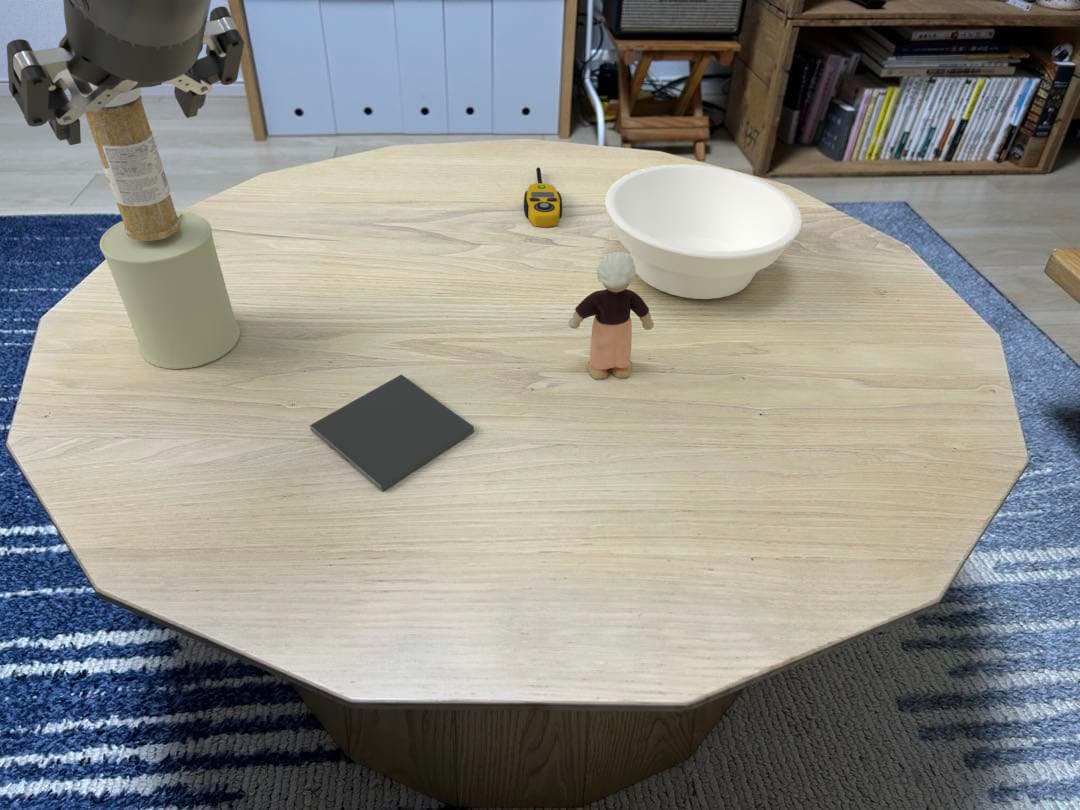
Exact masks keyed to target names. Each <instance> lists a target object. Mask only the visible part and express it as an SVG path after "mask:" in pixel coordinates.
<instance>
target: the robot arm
mask: <svg viewBox="0 0 1080 810" xmlns="http://www.w3.org/2000/svg"><path fill="white" fill-rule="evenodd" d="M62 1H63V16H64V24H65V30H66V31H65V34H64V36H63V37H62V38H61V39H60V41H59V43H58V47H54V48H46V49H38V50H33V48H32V46H31V45H30V42H29V41H28V40H26V39H22V38H21V39H19V38H18V39H14V40H11V41H9V42H8V43H7V45H6V56H7V57H6V58H7V75H8V76H7V79H8V90H9V92H10V94H11V96H12V97H13V98H14V99H15V101H16V103H17V105H18V108H19V109H20V111H21V112H22V115H23V118H24V120H25V121H26V123H27V125H28V126H29V127H32V128H33V127H36V128H37V127H40V126H43V125H45V124H47V122H48V124H49V126H50V128H51V130H52V131H53V133H54V135H55V137H56V139H57V140H59V141H67V143H68V145H69V146H74V145H78V144H81V143H82V139H81V138H82V136H81V120H80V118H81V117H82V116H83V115H85V112H86V111H88V110H91V111H99V110H101V109H102V108H103V107H104V106H106V105H107V104H108V103H109V102H110V101H112V100H113V99H114V98H115V97H116V96H118V95H119V94H120V93H127V92H128V91H131V90H134V89H137V88H140V89H141V88H152V87H156V86H162V85H163V83H164V84H166V85H168V84H170V85H172V86H174V90H173V91H174V97H175V99H176V101H177V103H178V105H179V107H180V109H181V111H182V112H183V113H182V114H183V115H184V116H185V118H187V119H189V118H193V117H197V116H198V112H199V110H200V109H202V108H203V107H204V105H205V102H206V98H207V94H209V93H210V92H212V91H213V87H214V86H213V84H215V83H218V82H220V83H221V85H223V86H230V85H232V84H235V83H236V82H237V80H238V76H239V72H240V66H241V62H242V56H243V52H244V45H245V41H244V39H243V37H242V34H241V33H240V31H239V29H238V27H237V25H236V24H235V21H234V19H233V17H232V16H231V13H230V12H229V10H228V8H227V7H226V6H217V7H214V8H213V9H212V10H211V11H210V7H211V3H212V0H62ZM209 12H210V13H209ZM208 17H209V20H208ZM204 45H205V46H206V47H205V54H206V56H204V57H200V54H201V53H202V51H203V48H204ZM199 57H200V58H199ZM89 83H91V84H93V85H95V86H97V88H95V89H94V90H93V89H92V88H91V86H90V84H89ZM66 90H68V92H69V93H70V95H71V97H70V98H71V99H69V98H68V95H67V93H66Z"/></svg>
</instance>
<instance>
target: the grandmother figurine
mask: <svg viewBox="0 0 1080 810" xmlns="http://www.w3.org/2000/svg"><path fill="white" fill-rule="evenodd" d="M596 268H597V269H596V274H597V281H598V282H600V283H602V285H603V287H604V288H605V289H600V290H596V291H594V292H592V293H590V294H589V295H587V296H586V297H585V298H584V299H582V300H581V301H580V303H578V305H577V306H576V307H575V309H574V310H575V311H574V313H573V314H572V317H570V319H568V326H569V328H571V329H574V330H577V329H579V327H580V326H581V323H582V322H583V321H584V320H585V319H588V318H590V317H593V316H594V318H593V320H592V321H593V322H592V326H591V327H592V328H591V337H590V344H589V345H590V346H589V361H588V362H587V364H586V367H585V368H586V370H587V372H588V373H589V375H590V376H591V378H593V379H594V380H598V381H599V380H606V379H607V378H608V376H609V373H608V369H612V374H613V376H614V377H616V378H618V379H627V378H629V377H630V375H631V373H632V370H633V367H634V365H633V362H632V361H631V354H632V339H633V337H632V336H633V329H632V325H633V324H632V318H631V311H632V312H633V313H634V314H635V315H636V316H637V317H638V319H639V321H640V322H641V326H642V328H643V329H644V330H646V331H650V330H652V329H653V328H654V326H655V325H654V321H653V319H652V316H651V313H650V308H649V306H648V305H647V304H646V302H645V301H644V299H643V298H642V297H641V296H640V295H639V294H638V293H637V292H635V291H634V290H631V289H628V287H629V286H630V284H631V283H633V282H635V278H636V277H635V276H636V274H637V273H636V272H635V265H634V262H633V259H632V257H631V256H630V253H627V252H625V251H617V250H615V251H613V252H612V251H611V252H609V253H607V254H605V255H604V256H603V258H602V259H601V260H600V262H599V264H598V266H597V267H596Z"/></svg>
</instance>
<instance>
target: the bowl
mask: <svg viewBox="0 0 1080 810" xmlns="http://www.w3.org/2000/svg"><path fill="white" fill-rule="evenodd" d="M604 203H605V211H606V213H607V216H608V218H609V221H610V223H611V226H612V228H613V231H614V234H615V236H616V238H617V240H618V242H619V243H620V244H621V245H622V247H624V248H625V249H626V250H627V251H628V253H629V255H630V256H631V257H632V259H633V262H634V265H635V272H636V273H635V274H636V275H637V276H638V277H639V278H640V279H641V280H642V281H643V282H645V283H646V284H647V285H649V286H651V287H653V288H654V289H657V290H659V291H661V292H664V293H667V294H669V295H672V296H677V297H680V298H688V299H695V300H696V299H697V300H711V299H712V300H713V299H720V298H725V297H729V296H732V295H734V294H737V293H739V292H741V291H743V290H744V289H745V288H746V287H747V286H748V285H749V284H750V283H751V281H752V280H753V278H754V277H755V275H756V274H757V273H758V271H761V270H763V269H765V268H768V267H769V266H771V265H772V264H773V263H775V262H776V261H777V260H778V259H779V257H780V256H781V255H782V254H783V253H784V252H785V251H786V250H787V249H788V247H790V245H791V244H792V243H793V242H794V240H795V239H796V238H797V237H798V236H799V235H800V233H801V230H802V227H803V217H802V213H801V211H800V209H799V207H798V205H797V204H796V202H795V201H793V200H792V198H791V197H790V196H789V195H787V194H786V193H785V192H783V191H782V190H781V189H779V188H778V187H776V186H774V185H772V184H770V183H768V182H767V181H765V180H762V179H760V178H758V177H755V176H753V175H750V174H746V173H743V172H740V171H736V170H734V169H733V170H732V169H728V168H723V167H718V166H712V165H703V164H688V163H687V164H686V163H684V164H683V163H679V164H678V163H677V164H662V165H657V166H656V165H655V166H649V167H645V168H642V169H638V170H634V171H632V172H630V173H627V174H626V175H623V176H622V177H620V178H619V179H617V180H616V181H615V182H613V183H612V185H611V186H610V187H609V189H608V190H607V192H606V196H605V199H604Z"/></svg>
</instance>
